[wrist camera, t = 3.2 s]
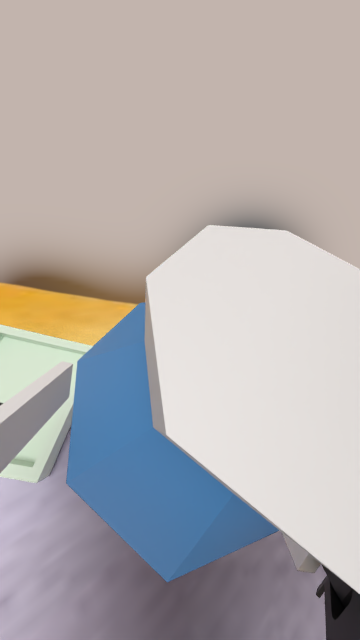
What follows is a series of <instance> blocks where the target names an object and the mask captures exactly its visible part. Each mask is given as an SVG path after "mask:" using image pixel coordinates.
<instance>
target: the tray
mask: <svg viewBox="0 0 360 640" xmlns="http://www.w3.org/2000/svg"><path fill="white" fill-rule="evenodd" d="M92 347H93V346H90V345H86V344H81V343H77V342H73V341H68V340H64V339H60V338H56V337H51V336H47V335H43V334H38V333H34V332H30V331H26V330H21V329H17V328H13V327H8V326H4V325H0V403H5V402H6V401H7V400H9V399H10V398H12V397H13V396H14V395H16V394H17V393H19V392H20V391H21V390H23V389H24V388H25V387H27V386H28V385H30V384H31V383H32V382H34V381H35V380H37V379H38V378H39V377H41V376H42V375H43V374H45V373H46V372H48V371H49V370H50V369H52V368H53V367H55V366H56V365H57V364H59V363H60V362H61V361H63V362H68V363H72V364H73V369H72V377H71V386H70V394H69V398H68V399H67V400H66V401H65V402H64V404H63V405H62V406H61V407H60V408H59V409H58V410H57V411H56V412H55V414H54V415H53V416H52V417H51V418H50V419H49V420H48V421H47V422H46V423H45V425H44V426H43V427H42V428H41V429H40V430H39V431H38V432H37V433H36V435H35V436H34V437H33V438H32V439H31V440H30V441H29V442H28V443H27V444H26V446H25V447H24V448H23V449H22V450H21V451H20V452H19V453H18V454H17V456H16V457H15V458H14V459H13V460H12V461H11V462H10V463H9V464H8V465H7V467H6V468H5V469H4V470H3V471H2V472H1V473H0V477H5V478H10V479H16V480H22V481H27V482H33V483H38V482H39V481H41V480H43V479H45V478H46V477H48V476H49V474H50V472H51V470H52V468H53V465H54V463H55V461H56V458H57V456H58V454H59V452H60V449H61V447H62V445H63V442H64V440H65V438H66V436H67V433H68V431H69V429H70V427H71V424H72V415H73V404H74V393H75V382H76V371H77V361H78V360H79V359H80V358H81V357H82V356H83V355H84V354H85V353H86V352H88V351H89V350H90V349H91V348H92Z"/></svg>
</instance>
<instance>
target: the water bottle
mask: <svg viewBox="0 0 360 640" xmlns="http://www.w3.org/2000/svg"><path fill="white" fill-rule="evenodd" d="M66 483H67V484H68V485H69V486H70V487H71V488H72V489H73V490H74V491H75V492H76V493H77V494H78V495H79V496H80V497H81V498H82V499H83V500H84V501H85V502H86V503H87V504H88V505H89V506H90V507H91V508H92V509H93V510H94V511H95V512H96V513H97V514H98V515H99V516H100V517H101V518H102V519H103V520H104V521H105V522H106V523H107V524H108V525H109V526H110V527H111V528H112V529H113V530H114V531H115V532H116V533H117V534H118V535H119V536H120V537H121V538H123V539H124V540H125V541H126V542H127V543H128V544H129V545H130V546H131V547H132V548H133V549H134V550H135V551H136V552H137V553H138V554H139V555H140V556H141V557H142V558H143V559H144V560H145V561H146V562H147V563H148V564H149V565H150V566H151V567H152V568H153V569H154V570H155V571H156V572H157V573H158V574H159V575H160V576H161V577H162V578H163V579H164V580H165V581H166V582H169V581H171V580H174V579H176V578H178V577H180V576H182V575H184V574H186V573H189V572H191V571H193V570H195V569H197V568H199V567H202V566H204V565H206V564H208V563H210V562H212V561H215V560H217V559H219V558H221V557H223V556H225V555H228V554H230V553H232V552H234V551H236V550H238V549H240V548H243V547H245V546H247V545H249V544H251V543H253V542H256V541H258V540H260V539H262V538H264V537H266V536H269V535H271V534H273V533H275V532H277V531H279V530H280V531H281V532H282V533H284V534H285V535H286V536H287V537H289V538H290V539H291V540H292V541H294V542H295V543H296V544H297V545H299V546H300V547H301V548H302V549H304V550H305V551H306V552H307V553H309V554H310V555H311V556H312V557H314V558H315V559H316V560H317V561H319V562H320V563H321V564H322V565H324V566H325V567H326V568H327V569H329V570H330V571H331V572H332V573H334V574H335V575H336V576H337V577H339V578H340V579H341V580H342V581H344V582H345V583H346V584H348V585H349V586H350V587H351V588H353V589H354V590H355V591H356V592H358V593H359V594H360V269H359V268H357V267H355V266H353V265H351V264H349V263H347V262H345V261H343V260H341V259H340V258H338V257H336V256H334V255H332V254H330V253H328V252H326V251H324V250H322V249H320V248H319V247H317V246H315V245H313V244H311V243H309V242H307V241H306V240H304V239H302V238H300V237H298V236H296V235H294V234H292V233H290V232H288V231H286V230H271V229H257V228H256V229H255V228H243V227H242V228H241V227H227V226H213V225H208V226H207V227H206V228H205V229H203V230H202V231H201V232H200V233H199V234H197V235H196V236H195V237H194V238H192V239H191V240H190V241H189V242H188V243H187V244H185V245H184V246H183V247H182V248H180V249H179V250H178V251H177V252H176V253H174V254H173V255H172V256H171V257H170V258H168V259H167V260H166V261H165V262H163V263H162V264H161V265H160V266H159V267H158V268H156V269H155V270H154V271H153V272H151V273H150V274H149V275H148V276H147V277H146V300H145V303H140V304H139V305H137V306H136V307H135V308H134V309H133V310H132V311H131V312H130V313H129V314H128V315H127V316H126V317H124V318H123V319H122V320H121V321H120V322H119V323H118V324H117V325H116V326H115V327H114V328H112V329H111V330H110V331H109V332H108V333H107V334H106V335H105V336H104V337H103V338H102V339H101V340H99V341H98V342H97V343H96V344H95V345H94V346H93V347H92V348H91V349H90V350H89V351H88V352H86V353H85V354H84V355H83V356H82V357H81V358H80V359H79V360H78V361H77V371H76V382H75V393H74V404H73V415H72V426H71V437H70V447H69V458H68V469H67V480H66Z"/></svg>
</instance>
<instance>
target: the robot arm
mask: <svg viewBox="0 0 360 640" xmlns="http://www.w3.org/2000/svg"><path fill="white" fill-rule="evenodd" d="M72 369H73V364H72V363H68V362H63V361H61V362H60V363H59V364H57V365H56V366H55V367H53V368H52V369H50V370H49V371H48V372H46V373H45V374H43V375H42V376H41V377H39V378H38V379H37V380H35V381H34V382H32V383H31V384H30V385H28V386H27V387H25V388H24V389H23V390H21V391H20V392H19V393H17V394H16V395H14V396H13V397H12V398H10V399H9V400H7V401H6V402H5V403H0V473H1V472H2V471H3V470H4V469H5V468H6V467H7V465H8V464H9V463H10V462H11V461H12V460H13V459H14V458H15V457H16V456H17V454H18V453H19V452H20V451H21V450H22V449H23V448H24V447H25V446H26V444H27V443H28V442H29V441H30V440H31V439H32V438H33V437H34V436H35V435H36V433H37V432H38V431H39V430H40V429H41V428H42V427H43V426H44V425H45V423H46V422H47V421H48V420H49V419H50V418H51V417H52V416H53V415H54V414H55V412H56V411H57V410H58V409H59V408H60V407H61V406H62V405H63V404H64V402H65V401H66V400H67V399H68V398H69V394H70V386H71V377H72ZM282 535H283V537H284V539H285V542H286V544H287V547H288V549H289V552H290V554H291V556H292V559H293V561H294V564H295V566H296V569H297V571H303V572H310V573H315V572H316V570H317V569H318V567H319V566H320V564H321V563H320V562H319V561H317V560H316V559H315V558H314V557H312V556H311V555H310V554H309V553H307V552H306V551H305V550H304V549H302V548H301V547H300V546H299V545H297V544H296V543H295V542H294V541H292V540H291V539H290V538H289V537H287V536H286V535H285V534H284V533H282ZM322 566H323V568H324V570H325V572H326V574H327V576H326V577H325V579H324V580H323V582H322V583H321V584H320V586H319V587H318V589H317V593H316V595H317V596H318V597H319V598H320V597H321V595H322V594H323V593H324V592H325V602H324V603H325V616H326V640H360V594H359V593H358V592H356V591H355V590H354V589H353V588H351V587H350V586H349V585H348V584H346V583H345V582H344V581H342V580H341V579H340V578H339V577H337V576H336V575H335V574H334V573H332V572H331V571H330V570H329V569H327V568H326V567H325V566H324V565H322Z"/></svg>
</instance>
